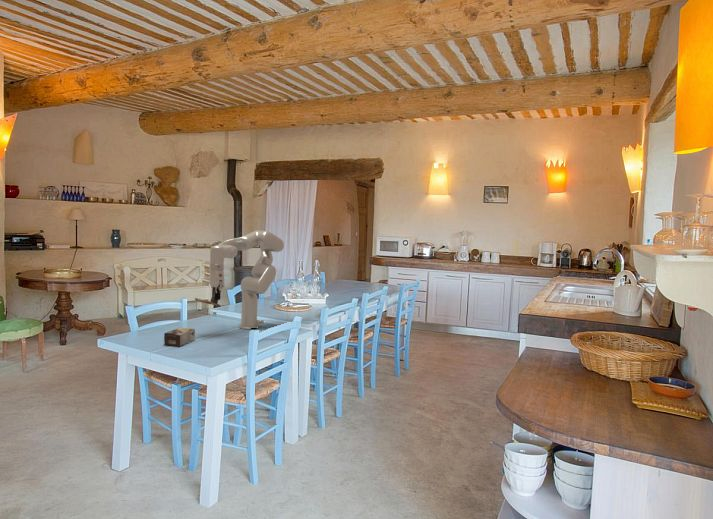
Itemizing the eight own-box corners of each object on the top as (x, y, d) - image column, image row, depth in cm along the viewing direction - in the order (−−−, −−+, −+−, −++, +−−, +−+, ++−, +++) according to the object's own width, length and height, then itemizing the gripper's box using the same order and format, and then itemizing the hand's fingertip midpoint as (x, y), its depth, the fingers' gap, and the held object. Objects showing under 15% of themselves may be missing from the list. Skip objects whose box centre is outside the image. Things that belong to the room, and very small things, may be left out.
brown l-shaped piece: (213, 304, 289) (219, 285, 290) (219, 306, 283) (224, 287, 285) (194, 299, 281) (200, 280, 282) (199, 301, 276) (205, 282, 277)
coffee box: (180, 338, 275) (163, 345, 259) (180, 326, 274) (163, 333, 259) (195, 340, 273) (179, 346, 257) (195, 328, 273) (179, 334, 257)
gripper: (229, 268, 280) (228, 301, 282) (216, 265, 293) (216, 296, 294) (216, 269, 275) (216, 302, 277) (204, 266, 288) (204, 297, 289)
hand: (216, 298), depth 286 cm, fingers closed on brown l-shaped piece, 3 cm apart
